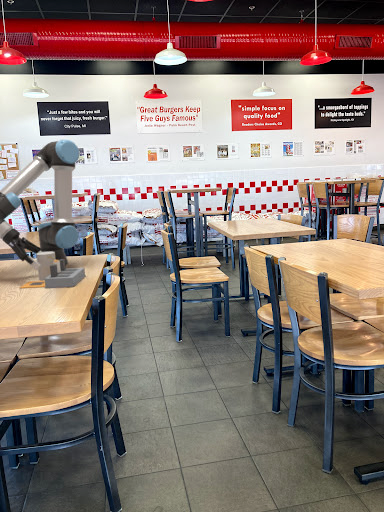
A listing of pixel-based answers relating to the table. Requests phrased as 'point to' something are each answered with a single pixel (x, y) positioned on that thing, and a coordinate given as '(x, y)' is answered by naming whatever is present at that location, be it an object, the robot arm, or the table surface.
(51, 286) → the grey switch box
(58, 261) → the toggle
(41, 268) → the white closed cylinder
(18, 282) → the table surface
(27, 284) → the pad
